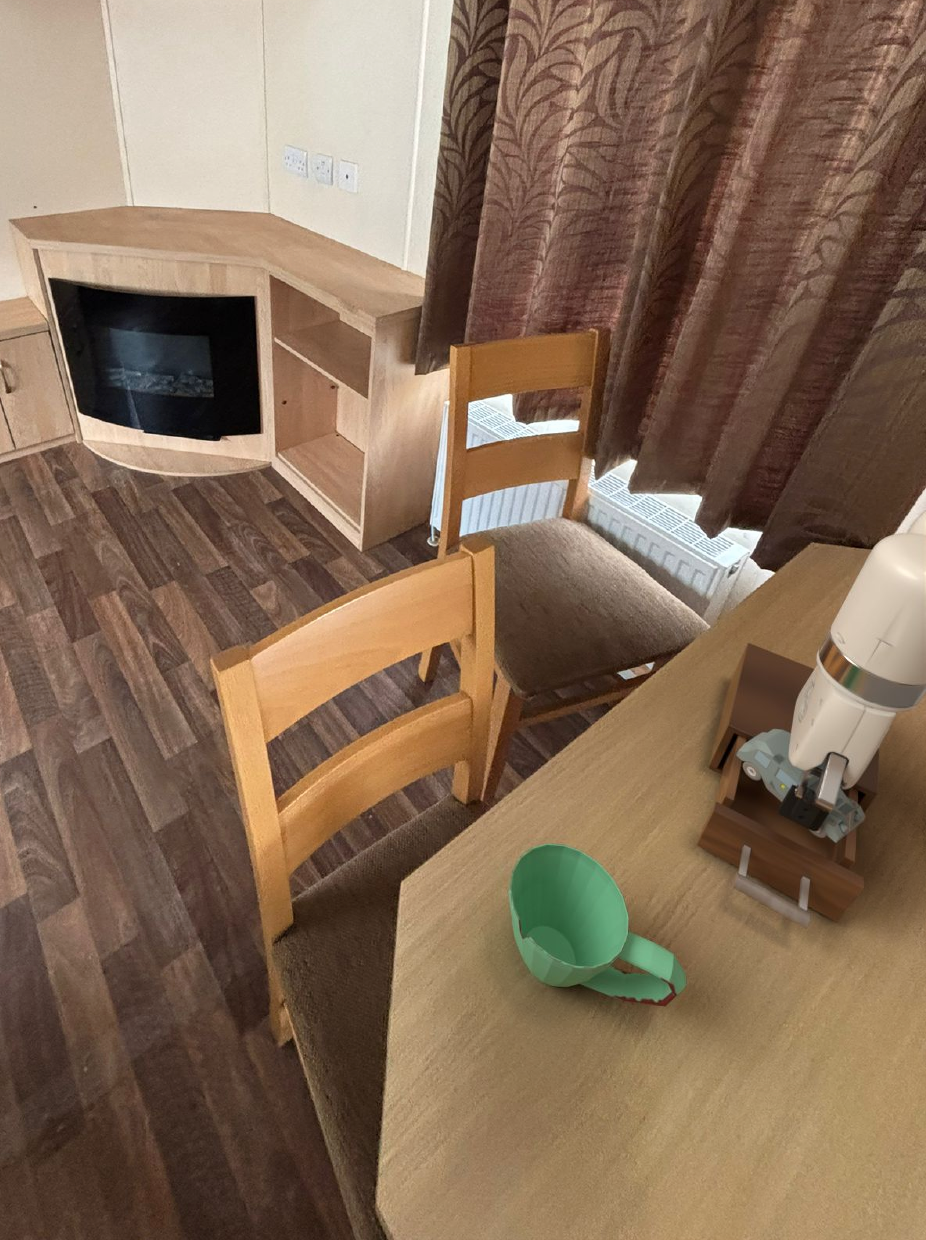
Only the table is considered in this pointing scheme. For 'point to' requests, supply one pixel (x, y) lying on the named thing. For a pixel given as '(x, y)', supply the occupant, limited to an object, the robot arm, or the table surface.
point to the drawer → (778, 848)
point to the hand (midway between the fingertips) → (801, 783)
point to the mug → (584, 929)
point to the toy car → (794, 780)
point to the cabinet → (771, 709)
